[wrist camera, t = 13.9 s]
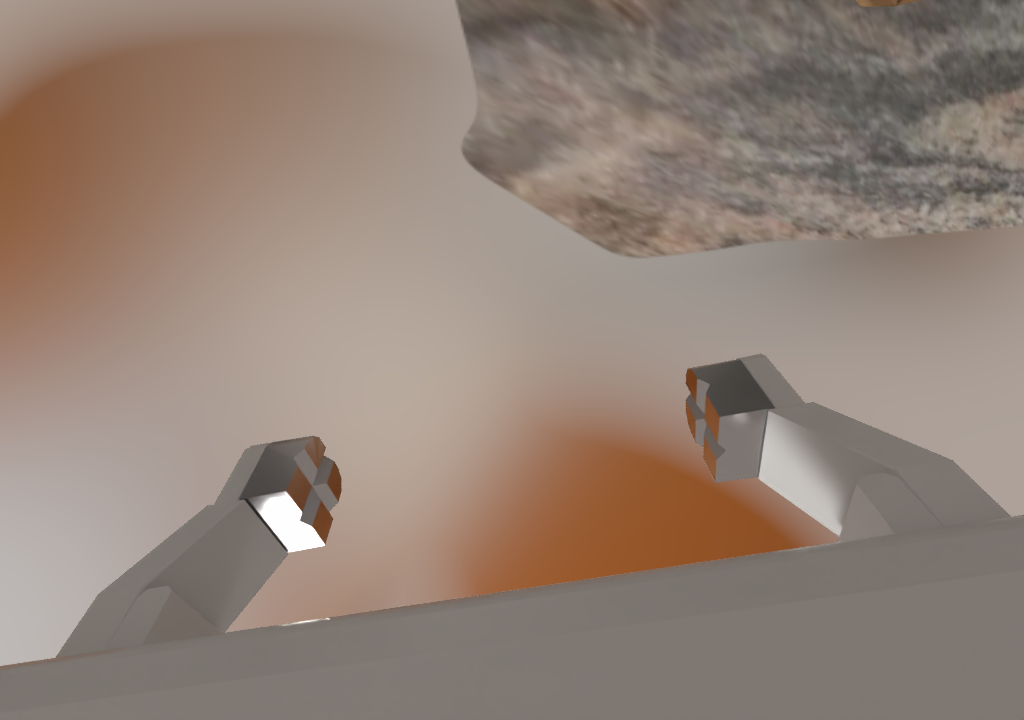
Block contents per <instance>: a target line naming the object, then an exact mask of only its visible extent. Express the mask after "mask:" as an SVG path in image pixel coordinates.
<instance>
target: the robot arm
mask: <svg viewBox="0 0 1024 720" xmlns="http://www.w3.org/2000/svg"><path fill="white" fill-rule="evenodd" d="M686 385H687V387H688V389H689V391H690V393H691V394H690V395H689V396H688V397H687V399H686V415H687V421H688V425H689V428H690V431H691V434H692V436H693V438H694V440H695V442H696V443H698V444H699V445H701V446H703V459H704V461H705V463H706V465H707V467H708V469H709V471H710V473H711V475H712V477H713V479H714V481H715V482H723V481H731V480H739V479H746V478H754V477H759V480H761V481H762V482H764V483H765V484H766V485H768V486H769V487H771V488H772V489H773V490H775V491H776V492H778V493H779V494H781V495H782V496H783V497H785V498H786V499H788V500H789V501H790V502H792V503H793V504H795V505H796V506H798V507H799V508H800V509H802V510H803V511H804V512H806V513H807V514H809V515H810V516H811V517H813V518H814V519H816V520H817V521H818V522H820V523H821V524H823V525H824V526H825V527H827V528H828V529H830V530H831V531H832V532H834V533H835V534H837V535H838V536H839V539H838V542H837V543H830V544H823V545H816V546H809V547H802V548H796V549H789V550H782V551H775V552H768V553H762V554H755V555H748V556H741V557H735V558H729V559H721V560H714V561H708V562H702V563H694V564H688V565H680V566H674V567H667V568H661V569H654V570H647V571H640V572H633V573H626V574H620V575H613V576H606V577H600V578H593V579H586V580H580V581H573V582H566V583H559V584H553V585H546V586H539V587H532V588H526V589H519V590H512V591H505V592H498V593H492V594H485V595H478V596H471V597H465V598H457V599H451V600H444V601H437V602H430V603H424V604H417V605H410V606H403V607H396V608H390V609H383V610H376V611H369V612H362V613H356V614H349V615H342V616H336V617H329V618H322V619H315V620H308V621H302V622H295V623H288V624H281V625H275V626H269V627H261V628H255V629H248V630H241V631H234V632H227V633H225V631H226V630H227V629H228V628H229V626H230V625H231V624H232V623H233V622H234V620H235V619H236V618H237V617H238V615H239V614H240V613H241V612H242V611H243V609H244V608H245V607H246V606H247V604H248V603H249V602H250V601H251V600H252V598H253V597H254V596H255V595H256V593H257V592H258V591H259V589H260V588H261V587H262V586H263V585H264V584H265V582H266V581H267V580H268V579H269V577H270V576H271V575H272V574H273V572H274V571H275V570H276V569H277V568H278V566H279V565H280V564H281V563H282V561H283V560H284V559H285V558H286V557H287V555H288V553H287V552H292V551H298V550H303V549H308V548H313V547H319V546H324V545H325V544H326V541H327V537H328V534H329V531H330V528H331V524H332V521H333V518H332V516H331V514H330V512H329V511H330V510H331V509H332V508H333V507H334V506H335V505H336V504H337V503H338V502H339V498H340V495H341V476H340V472H339V469H338V467H337V465H336V464H335V462H334V461H333V460H331V459H329V458H327V457H325V456H324V452H325V449H326V447H325V445H324V444H323V442H322V441H321V439H320V438H319V437H316V436H309V437H302V438H296V439H290V440H284V441H277V442H272V443H267V444H260V445H254V446H250V447H249V448H247V449H246V450H245V451H244V452H243V454H242V456H241V458H240V459H239V461H238V463H237V465H236V466H235V468H234V470H233V472H232V474H231V475H230V477H229V479H228V481H227V482H226V484H225V486H224V488H223V490H222V491H221V493H220V495H219V496H218V498H217V500H216V502H215V504H214V505H209V506H206V507H205V508H204V509H203V510H201V511H200V512H199V513H198V514H196V515H195V516H194V517H193V518H192V519H190V520H189V521H188V522H187V523H185V524H184V525H183V526H182V527H181V528H179V529H178V530H177V531H176V532H174V533H173V534H172V535H171V536H169V537H168V538H167V539H166V540H164V541H163V542H162V543H161V544H160V545H158V546H157V547H156V548H155V549H153V550H152V551H151V552H150V553H149V554H147V555H146V556H145V557H144V558H143V559H141V560H140V561H139V562H137V563H136V564H135V565H134V566H133V567H132V568H130V569H129V570H128V571H126V572H125V573H124V574H123V575H122V576H120V577H119V578H118V579H117V580H115V581H114V582H113V583H112V584H110V585H109V586H108V587H107V588H106V589H104V590H103V591H102V592H101V593H99V594H98V595H97V597H96V598H95V600H94V601H93V603H92V604H91V606H90V607H89V609H88V610H87V612H86V613H85V615H84V616H83V618H82V619H81V621H80V622H79V623H78V625H77V626H76V628H75V629H74V631H73V632H72V634H71V635H70V637H69V638H68V640H67V641H66V643H65V644H64V646H63V647H62V649H61V650H60V652H59V653H58V655H57V656H56V657H55V658H51V659H44V660H38V661H31V662H24V663H17V664H12V665H4V666H0V720H1024V515H1020V516H1013V517H1011V516H1010V515H1009V514H1008V513H1007V512H1006V511H1005V510H1004V509H1003V508H1002V507H1001V506H1000V505H998V503H996V502H995V501H994V500H993V499H992V498H991V497H990V496H989V495H988V494H987V493H986V492H985V491H984V490H983V489H982V488H981V487H980V486H979V485H978V484H977V483H976V482H975V481H974V480H973V479H971V478H970V477H969V476H968V475H967V474H966V473H965V472H964V471H963V470H962V469H961V468H960V467H959V466H958V465H957V464H956V463H955V462H954V461H953V460H950V459H948V458H946V457H943V456H941V455H939V454H936V453H934V452H931V451H929V450H927V449H924V448H922V447H919V446H917V445H914V444H912V443H910V442H907V441H905V440H902V439H900V438H898V437H895V436H893V435H891V434H888V433H885V432H883V431H881V430H879V429H876V428H874V427H871V426H869V425H867V424H864V423H862V422H859V421H857V420H855V419H852V418H850V417H847V416H845V415H843V414H840V413H838V412H835V411H833V410H831V409H828V408H826V407H823V406H821V405H819V404H816V403H814V402H811V403H805V402H804V401H803V400H802V399H801V397H800V396H799V395H798V394H797V393H796V391H795V390H794V389H793V388H792V387H791V386H790V384H789V383H788V382H787V381H786V379H785V378H784V377H783V376H782V375H781V373H780V372H779V371H778V370H777V369H776V367H775V366H774V365H773V364H772V363H771V362H770V360H769V359H768V358H767V357H766V356H765V355H762V354H758V355H753V356H748V357H743V358H738V359H736V360H731V361H725V362H721V363H715V364H709V365H704V366H698V367H693V368H688V369H687V372H686Z"/></svg>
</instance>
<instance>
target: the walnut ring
mask: <svg viewBox="0 0 1024 720" xmlns="http://www.w3.org/2000/svg"><path fill="white" fill-rule="evenodd" d="M914 1H919V0H856V2H857V3H858V4H859V5H860V7H870V6H897V5H901V4H906V3H910V2H914Z"/></svg>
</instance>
